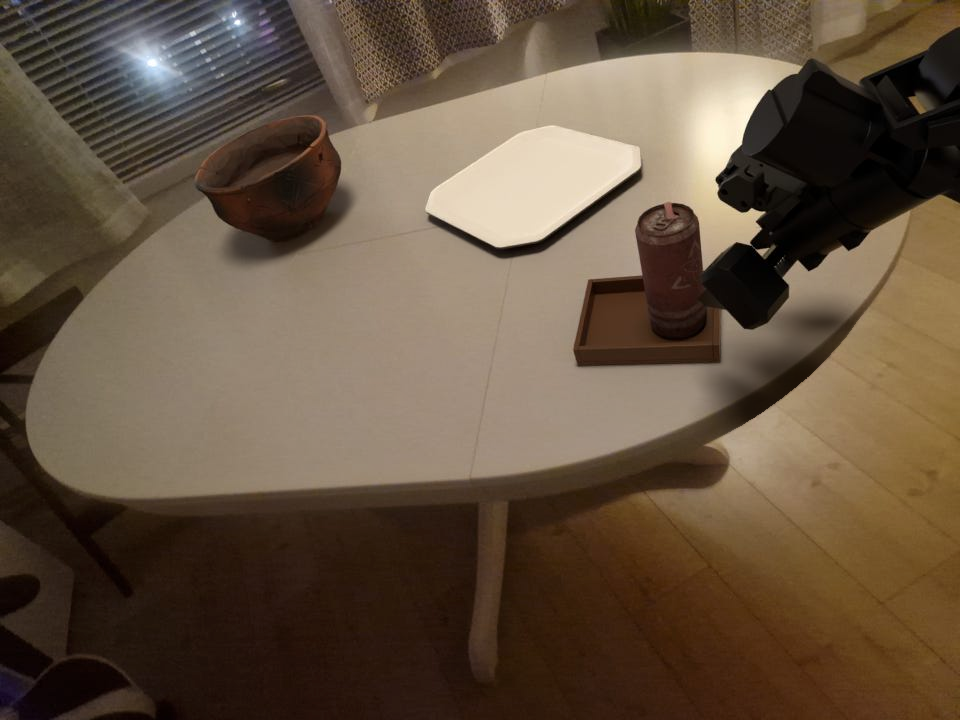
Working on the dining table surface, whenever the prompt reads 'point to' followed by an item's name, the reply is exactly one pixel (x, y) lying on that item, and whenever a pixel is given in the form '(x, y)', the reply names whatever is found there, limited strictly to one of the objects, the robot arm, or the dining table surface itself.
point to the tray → (635, 329)
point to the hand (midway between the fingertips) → (728, 272)
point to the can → (672, 269)
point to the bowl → (273, 178)
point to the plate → (532, 185)
